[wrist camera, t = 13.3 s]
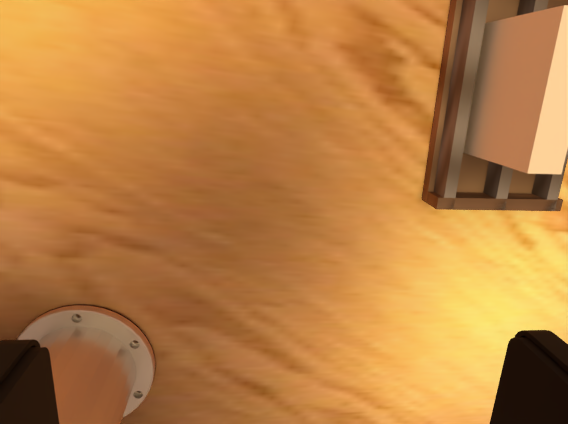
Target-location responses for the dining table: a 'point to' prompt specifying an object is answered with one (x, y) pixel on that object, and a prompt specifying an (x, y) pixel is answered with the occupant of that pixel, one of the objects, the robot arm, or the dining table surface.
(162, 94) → the dining table surface
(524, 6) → the dark wooden tray
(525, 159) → the door panel
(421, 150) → the dining table surface
